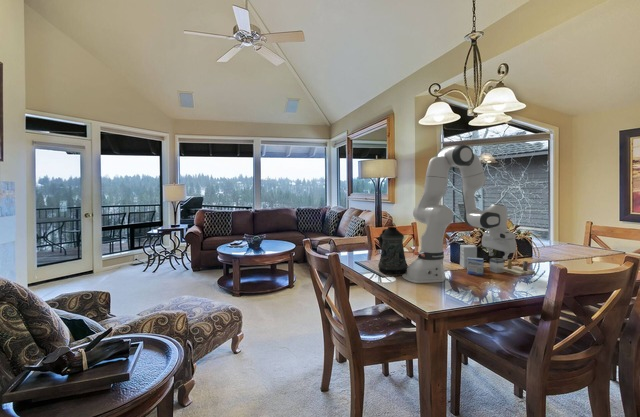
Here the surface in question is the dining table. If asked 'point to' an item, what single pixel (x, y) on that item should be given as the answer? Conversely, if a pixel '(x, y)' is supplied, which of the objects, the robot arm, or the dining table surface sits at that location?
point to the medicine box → (475, 266)
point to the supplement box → (467, 254)
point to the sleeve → (497, 265)
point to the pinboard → (518, 269)
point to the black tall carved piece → (392, 252)
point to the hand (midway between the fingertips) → (498, 257)
